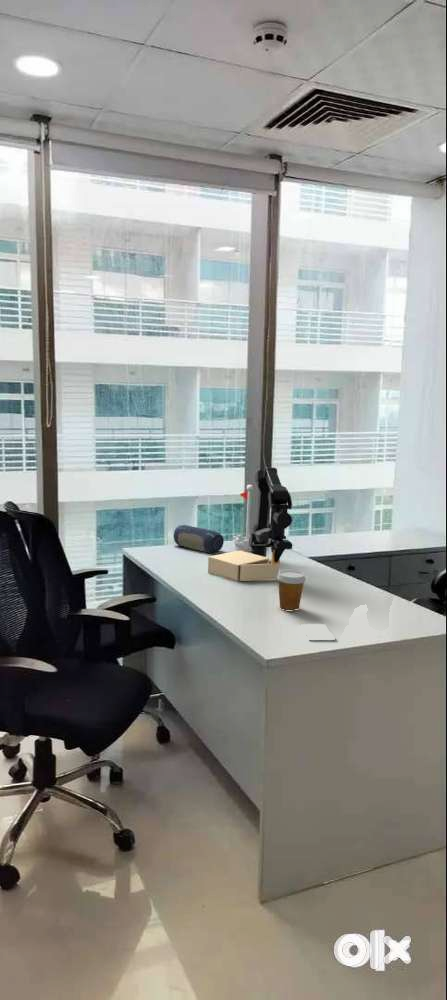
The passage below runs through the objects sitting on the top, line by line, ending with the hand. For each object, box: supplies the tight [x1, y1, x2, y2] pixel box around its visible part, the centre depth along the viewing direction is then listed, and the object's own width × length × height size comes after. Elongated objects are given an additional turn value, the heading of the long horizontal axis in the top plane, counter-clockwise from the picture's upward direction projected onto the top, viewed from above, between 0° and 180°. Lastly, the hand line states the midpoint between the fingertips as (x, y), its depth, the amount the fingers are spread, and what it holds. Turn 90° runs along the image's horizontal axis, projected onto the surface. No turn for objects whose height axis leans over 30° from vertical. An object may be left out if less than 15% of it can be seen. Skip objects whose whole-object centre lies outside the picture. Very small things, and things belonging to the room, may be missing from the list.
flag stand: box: [232, 484, 254, 553], centre depth 301 cm, size 13×13×30 cm
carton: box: [207, 550, 270, 583], centre depth 260 cm, size 18×16×6 cm
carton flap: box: [239, 552, 281, 582], centre depth 250 cm, size 16×1×11 cm, turn 107°
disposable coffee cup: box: [277, 570, 306, 611], centre depth 219 cm, size 10×10×12 cm
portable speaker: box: [173, 524, 225, 554], centre depth 298 cm, size 25×10×10 cm, turn 53°
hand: (275, 561), depth 252 cm, fingers closed
